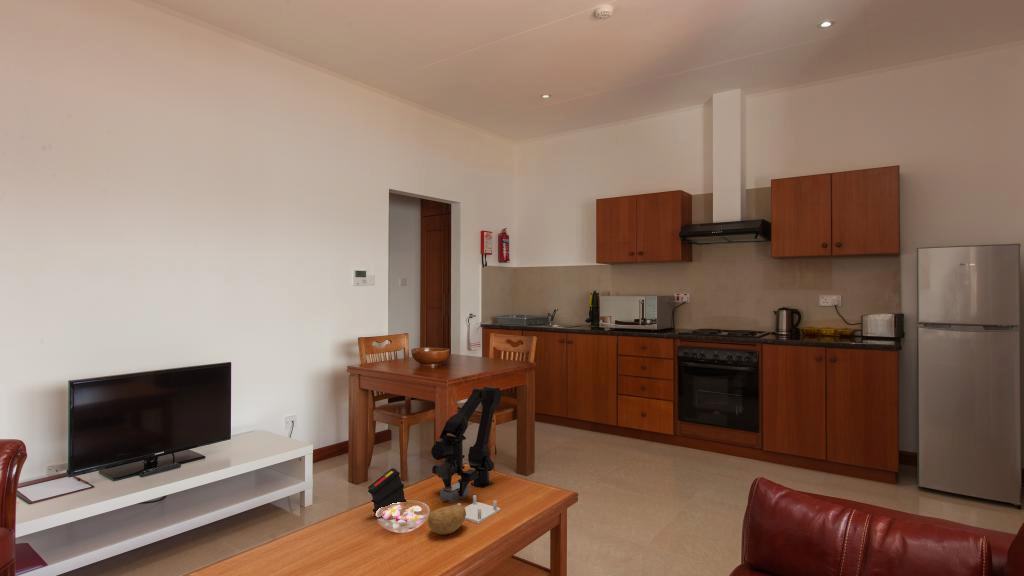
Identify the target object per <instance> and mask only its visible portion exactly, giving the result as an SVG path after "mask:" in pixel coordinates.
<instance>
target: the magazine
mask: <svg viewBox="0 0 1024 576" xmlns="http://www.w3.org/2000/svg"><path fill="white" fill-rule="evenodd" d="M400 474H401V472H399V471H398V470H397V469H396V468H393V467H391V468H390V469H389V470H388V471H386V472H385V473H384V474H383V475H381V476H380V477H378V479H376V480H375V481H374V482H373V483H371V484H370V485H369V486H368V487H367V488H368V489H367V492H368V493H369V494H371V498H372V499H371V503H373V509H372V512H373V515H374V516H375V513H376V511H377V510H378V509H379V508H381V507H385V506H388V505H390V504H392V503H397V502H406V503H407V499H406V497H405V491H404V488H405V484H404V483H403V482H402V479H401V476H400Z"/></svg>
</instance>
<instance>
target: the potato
mask: <svg viewBox="0 0 1024 576" xmlns="http://www.w3.org/2000/svg"><path fill="white" fill-rule="evenodd" d="M465 517H466V511H465V506H463V505H462V504H461V505H457V504H452V505H448V506H444V507H441V508H438V509H435V510H433V511H432V512H429V515H428V517H427V525H428V527H429V529H430V530H431V531H432V532H433V533H435V534H438V535H442V536H443V535H450V534H453V533H455V532H456V531H457V530H458V529H460V527H461V526H462V525H463V523H464V521H466V520H465Z"/></svg>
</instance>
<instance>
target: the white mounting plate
mask: <svg viewBox="0 0 1024 576" xmlns="http://www.w3.org/2000/svg"><path fill="white" fill-rule="evenodd" d="M492 503H493V504H492V505H490V504H486V503H483V502H479V501H477V495H476V494H474V495H472V503H471V504H469V505H466V506H464V508H465V511H466V517H465V520H464V521H469V522H471V523H476V524H480V523H482V522H484V521H485V520H487V519H489V518H490V517H492V516H494V515H495V514H497V513H498V512H501V508H500V507H498V506H497V500H495V499H494V500H492ZM456 505H461V506H462V503H460V502H458V503H457V504H456Z"/></svg>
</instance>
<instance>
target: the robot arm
mask: <svg viewBox="0 0 1024 576" xmlns="http://www.w3.org/2000/svg"><path fill="white" fill-rule="evenodd" d="M502 394H503V393H502V390H501V389H500V388H499V387H496V386H495V387H493V386H484V387H483V388H477V387H476V388H473V389H472V391H471V394H470V395H469V397H468V398H467V399H466V401H465V402H464V404H463V405H462V406H461V408H460V409H459V411H458V412H457V413H455V414H453V415H451V416H449V418H448V419H447V420H446V421H445V424H444V426H443V428H442V431H441V434H440V436H439V440H435V444H433V446H432V447H431V449H430V450H431V452H430V453H431V456H432V457H433V459H434V460H435V461H440V460H444V461H443V462H442V461H441V462H439V463H436V464H433V466H432V468H431V474H435V475H436V476H437V477H438V478H440V479H441V480H442V483H443V485H444V488H445V487H447V486H450V485H452V478H453V476H454V475H456V476H460V478H459V479H457V482H459V483H460V496H463V494H464V492H465V489H466V487H467V485H469V483H470V485H473V486H475V487H476V486H477V487H480V488H485V487H487V486H489V485H491V484H493V481H491V480H490V472H491V471H492V470H493V469H494V467H495V463H494V462H493V460H492V459H491V451H490V447H489V440H490V436H491V435H490V434H491V429H492V423H493V419H494V412H495V409H496V408H497V407H498V406H499V404H500V403H501V398H502V396H503V395H502ZM480 404H481V406H482V407H481V414H480V419H479V425H478V429H477V430H478V431H477V434H476V439H475V443H474V444H473V445H472V446H469V451H468V454H467V461H468V463H469V469H466V470H465V465H463V459H465V457H466V456H465V454H463V451H464V450H463V448H464V447H463V441H464V440H466V439H467V437H466V436H465V435H464V434H465V433H466V431H467V429H468V427H469V420H470V418H471V417H472V416H473V414H474V413H475V411H476V410H477V408H478V406H480Z"/></svg>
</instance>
